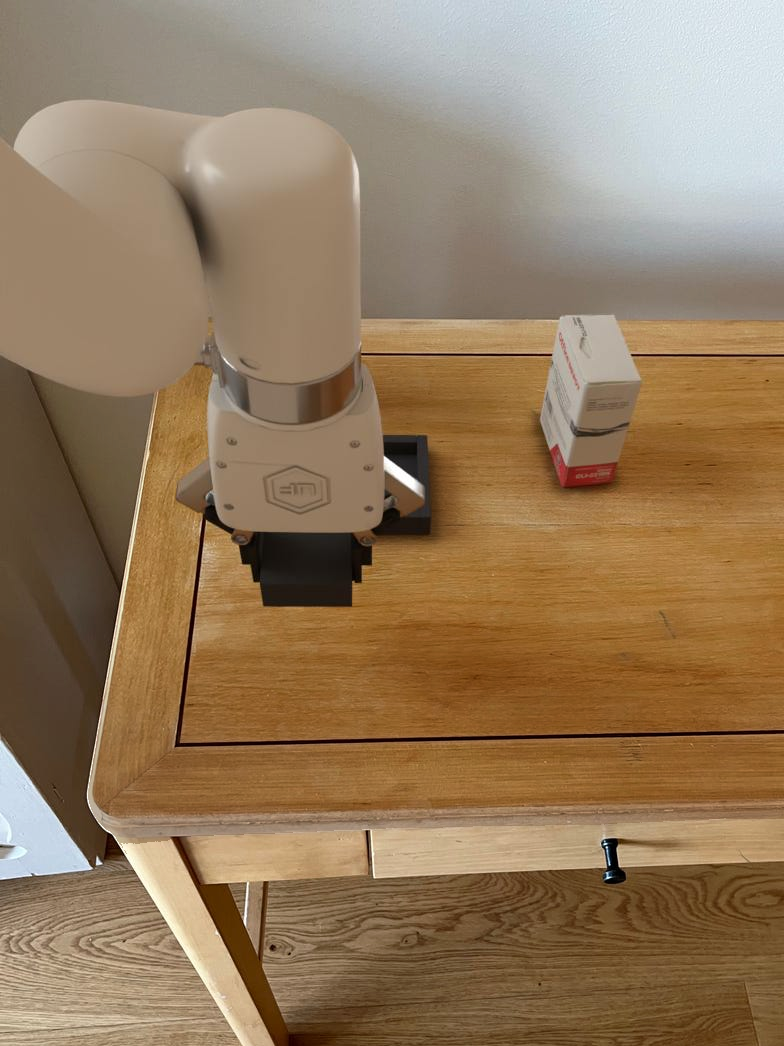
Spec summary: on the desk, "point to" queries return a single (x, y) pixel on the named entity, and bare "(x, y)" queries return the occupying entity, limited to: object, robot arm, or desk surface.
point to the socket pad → (414, 461)
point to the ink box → (588, 398)
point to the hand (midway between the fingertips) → (308, 564)
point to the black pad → (306, 569)
